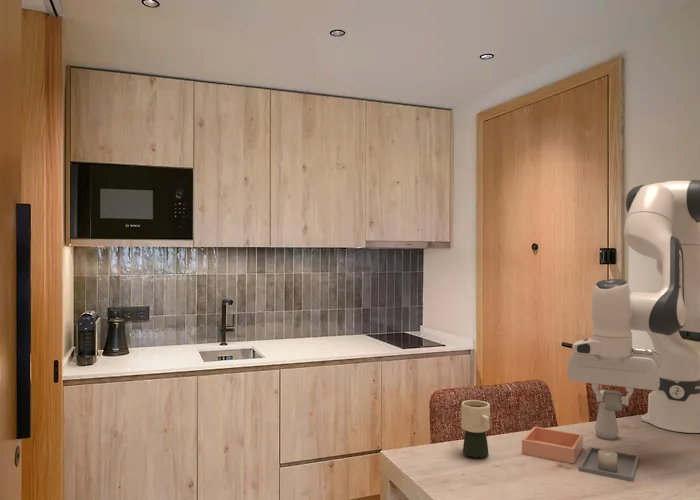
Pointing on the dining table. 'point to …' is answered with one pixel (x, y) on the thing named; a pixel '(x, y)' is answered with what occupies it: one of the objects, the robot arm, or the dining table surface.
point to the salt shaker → (606, 423)
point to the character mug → (475, 427)
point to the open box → (552, 445)
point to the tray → (624, 465)
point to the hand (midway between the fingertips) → (612, 403)
